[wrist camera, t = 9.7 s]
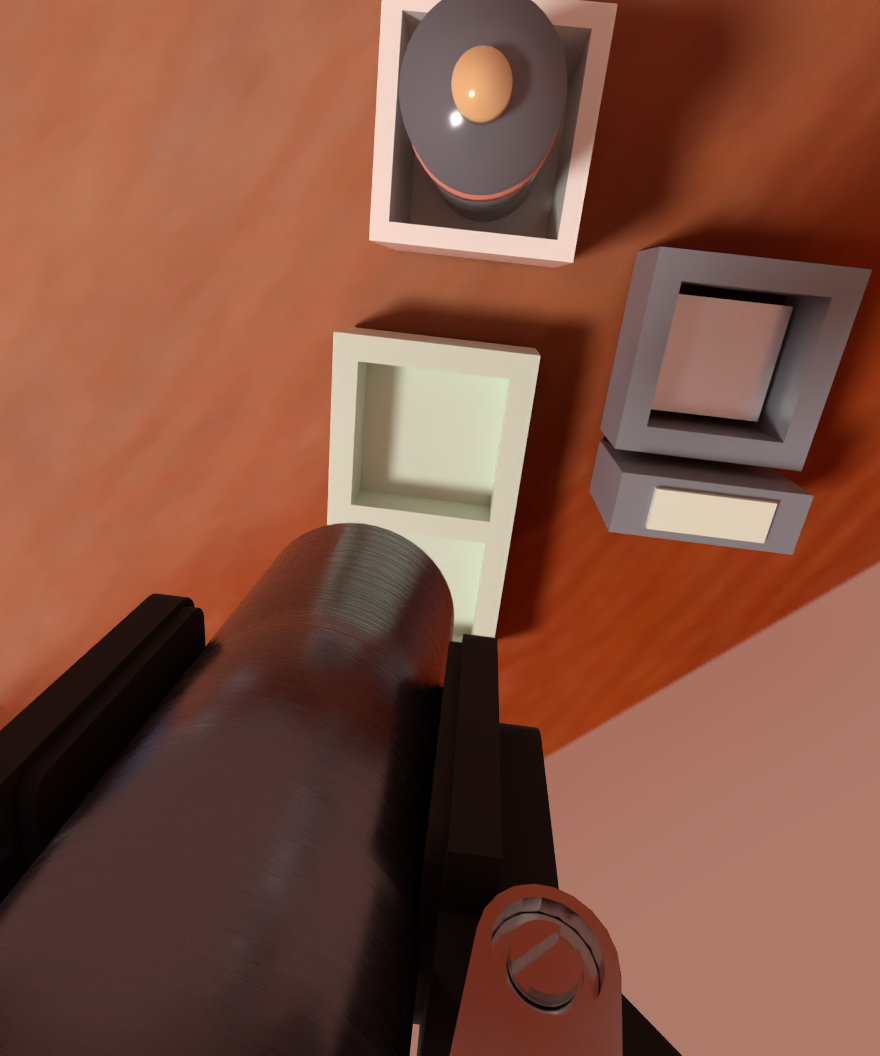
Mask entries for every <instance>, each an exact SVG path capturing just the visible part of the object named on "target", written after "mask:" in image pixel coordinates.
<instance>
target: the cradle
mask: <svg viewBox="0 0 880 1056" xmlns="http://www.w3.org/2000/svg"><path fill="white" fill-rule="evenodd" d="M871 272H872V269H863V268H854V267H845V266H835V265H826V264H817V263H808V262H799V261H789V260H780V259H771V258H762V257H753V256H744V255H734V254H725V253H716V252H707V251H698V250H689V249H679V248H670V247H661V246H660V247H655V248H651V249H647V250H642V251H638V252H637V255H636V259H635V264H634V269H633V274H632V278H631V283H630V288H629V293H628V298H627V302H626V307H625V312H624V317H623V321H622V326H621V331H620V336H619V341H618V345H617V350H616V355H615V360H614V364H613V369H612V374H611V379H610V384H609V388H608V393H607V398H606V403H605V407H604V412H603V417H602V422H601V426H600V430H601V431H602V432H603V434H604V435H605V436H606V437H607V439H608V440H609V441H603V440H600V442H599V447H598V452H597V456H596V461H595V466H594V471H593V475H592V480H591V485H590V490H589V491H590V493H591V495H592V497H593V499H594V501H595V504H596V506H597V508H598V510H599V512H600V514H601V516H602V518H603V520H604V522H605V524H606V527H607V529H608V531H609V532H616V533H623V534H631V535H639V536H647V537H655V538H663V539H671V540H679V541H687V542H695V543H703V544H711V545H719V546H727V547H735V548H743V549H751V550H759V551H767V552H775V553H783V554H791V555H792V554H793V552H794V549H795V546H796V543H797V541H798V538H799V535H800V532H801V530H802V527H803V524H804V521H805V519H806V516H807V513H808V510H809V508H810V505H811V502H812V499H813V497H814V496H813V495H812V494H810V493H809V492H807V491H806V490H804V489H803V488H801V487H800V486H798V485H797V484H795V483H794V482H792V481H790V480H789V479H787V478H786V477H784V476H783V475H781V474H780V473H778V472H777V471H775V470H774V469H772V468H778V469H787V470H795V471H802V468H803V466H804V463H805V460H806V457H807V454H808V451H809V449H810V446H811V443H812V440H813V437H814V434H815V431H816V429H817V426H818V423H819V420H820V417H821V414H822V411H823V409H824V406H825V403H826V400H827V397H828V394H829V391H830V389H831V386H832V383H833V380H834V377H835V374H836V372H837V369H838V366H839V363H840V360H841V357H842V354H843V352H844V349H845V346H846V343H847V340H848V337H849V334H850V332H851V329H852V326H853V323H854V320H855V317H856V315H857V312H858V309H859V306H860V303H861V300H862V297H863V295H864V292H865V289H866V286H867V283H868V280H869V277H870V275H871ZM681 284H683V285H692V286H701V287H710V288H719V289H728V290H737V291H746V292H755V293H764V294H773V295H782V296H786V298H785V301H784V304H783V306H791V307H793V309H792V312H791V316H790V319H789V322H788V325H787V328H786V332H785V335H784V338H783V341H782V345H781V348H780V351H779V354H778V357H777V361H776V364H775V367H774V370H773V373H772V377H771V380H770V383H769V386H768V390H767V393H766V396H765V399H764V402H763V406H762V409H761V412H760V415H759V419H758V422H755V421H748V423H739V422H731V421H722V420H714V419H706V418H697V417H689V416H680V415H672V414H663V413H655V412H650V411H651V407H652V403H653V399H654V395H655V390H656V386H657V382H658V378H659V374H660V369H661V365H662V361H663V357H664V353H665V349H666V344H667V340H668V336H669V332H670V328H671V324H672V319H673V315H674V311H675V307H676V303H677V299H678V294H679V290H680V286H681Z"/></svg>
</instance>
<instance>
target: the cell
mask: <svg viewBox="0 0 880 1056" xmlns="http://www.w3.org/2000/svg"><path fill="white" fill-rule="evenodd" d="M453 627H454V606H453V600H452V596H451V592H450V589H449V587H448V584H447V582H446V580H445V578H444V576H443V574H442V573H441V571H440V569H439V568H438V567H437V565H436V564H435V563H434V561H433V560H432V559H431V558H430V557H429V556H428V555H427V554H426V553H425V552H424V551H423V550H422V549H421V548H419V547H418V546H417V545H415V544H414V543H413V542H411V541H410V540H408V539H406V538H405V537H403V536H401V535H399V534H397V533H395V532H392V531H390V530H387V529H384V528H381V527H378V526H373V525H368V524H362V523H338V524H332V525H327V526H323V527H320V528H317V529H314V530H311V531H309V532H307V533H305V534H303V535H301V536H300V537H298V538H297V539H295V540H294V541H292V542H291V543H290V544H289V545H288V546H287V547H286V548H285V549H283V551H282V552H281V553H280V554H279V555H278V557H277V558H276V559H275V560H274V562H273V563H272V564H271V565H270V567H269V568H268V569H267V570H266V572H265V573H264V574H263V575H262V577H261V578H260V579H259V581H258V582H257V583H256V584H255V586H254V587H253V588H252V589H251V591H250V592H249V593H248V594H247V596H246V597H245V598H244V599H243V601H242V602H241V603H240V604H239V606H238V607H237V608H236V609H235V611H234V612H233V613H232V614H231V616H230V617H229V618H228V619H227V621H226V622H225V623H224V624H223V626H222V627H221V628H220V629H219V631H218V632H217V633H216V634H215V636H214V637H213V638H212V639H211V641H210V642H209V643H208V644H207V646H206V647H205V648H204V649H203V651H202V652H201V653H200V654H199V656H198V657H197V658H196V659H195V661H194V662H193V663H192V664H191V666H190V667H189V668H188V669H187V671H186V672H185V673H184V674H183V676H182V677H181V678H180V679H179V681H178V682H177V683H176V684H175V686H174V687H173V688H172V690H171V691H170V692H169V693H168V695H167V696H166V697H165V698H164V700H163V701H162V702H161V703H160V705H159V706H158V707H157V708H156V710H155V711H154V712H153V713H152V715H151V716H150V717H149V718H148V720H147V721H146V722H145V723H144V725H143V726H142V727H141V728H140V730H139V731H138V732H137V733H136V735H135V736H134V737H133V738H132V740H131V741H130V742H129V743H128V745H127V746H126V747H125V748H124V750H123V751H122V752H121V753H120V755H119V756H118V757H117V758H116V760H115V761H114V762H113V763H112V765H111V766H110V767H109V768H108V770H107V771H106V772H105V773H104V775H103V776H102V777H101V778H100V780H99V781H98V782H97V783H96V785H95V786H94V787H93V788H92V790H91V791H90V792H89V793H88V795H87V796H86V797H85V798H84V800H83V801H82V802H81V804H80V805H79V806H78V807H77V809H76V810H75V811H74V812H73V814H72V815H71V816H70V817H69V819H68V820H67V821H66V822H65V824H64V825H63V826H62V827H61V829H60V830H59V831H58V832H57V834H56V835H55V836H54V837H53V839H52V840H51V841H50V842H49V844H48V845H47V846H46V847H45V849H44V850H43V851H42V852H41V854H40V855H39V856H38V857H37V859H36V860H35V861H34V862H33V864H32V865H31V866H30V867H29V869H28V870H27V871H26V872H25V874H24V875H23V876H22V877H21V879H20V880H19V881H18V882H17V884H16V885H15V886H14V887H13V889H12V890H11V891H10V892H9V894H8V895H7V896H6V897H5V899H4V900H3V901H2V902H1V904H0V1056H410V1046H411V1036H412V1027H413V1017H414V1007H415V997H416V988H417V978H418V968H419V958H420V940H421V936H420V930H419V923H418V918H417V911H418V903H419V894H420V885H421V877H422V868H423V859H424V850H425V842H426V833H427V824H428V816H429V807H430V798H431V789H432V781H433V772H434V763H435V754H436V746H437V737H438V728H439V720H440V711H441V702H442V693H443V685H444V677H445V669H446V662H447V654H448V646H449V641H452V637H453Z"/></svg>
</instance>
